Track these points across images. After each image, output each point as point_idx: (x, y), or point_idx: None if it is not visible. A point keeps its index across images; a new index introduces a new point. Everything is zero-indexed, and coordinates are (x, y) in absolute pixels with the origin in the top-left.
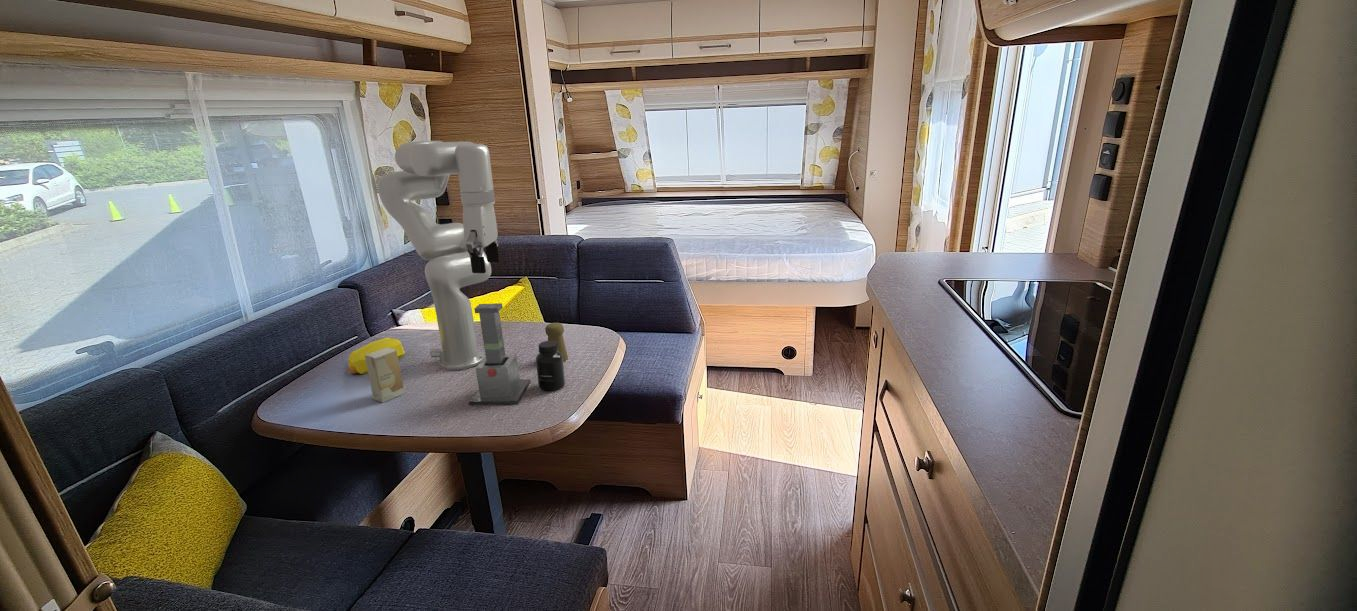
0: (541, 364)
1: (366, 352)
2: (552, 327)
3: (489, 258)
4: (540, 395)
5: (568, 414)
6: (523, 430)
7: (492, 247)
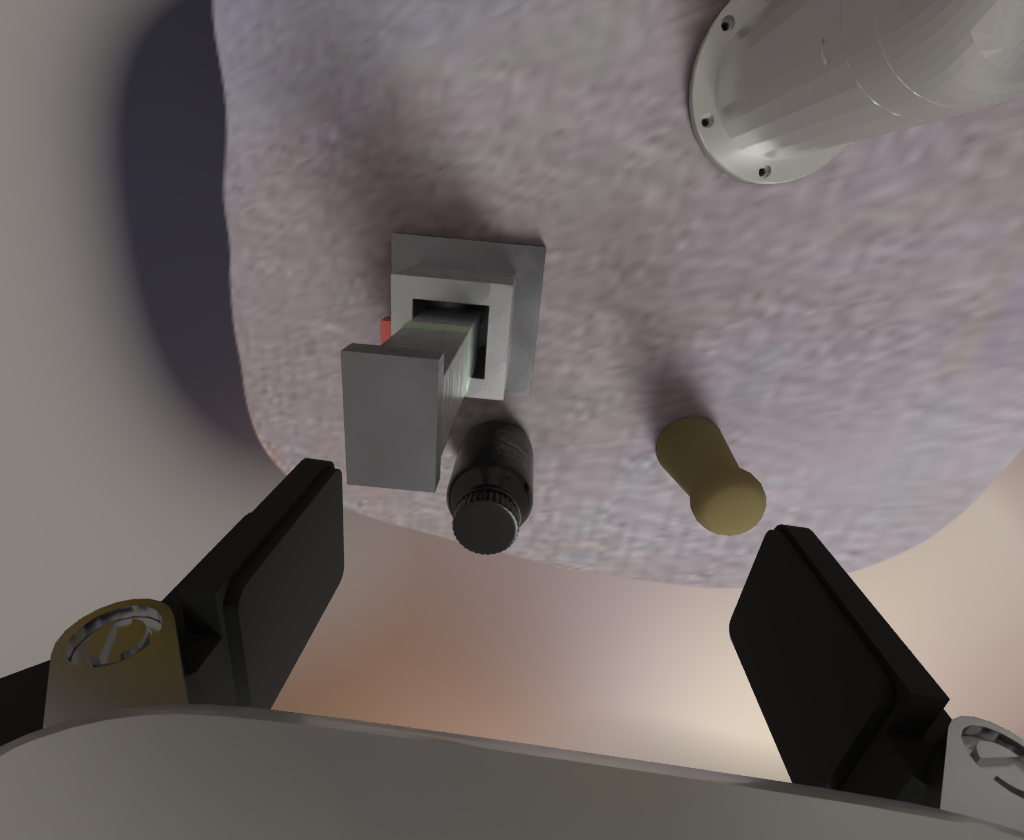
0: (451, 477)
1: None
2: (706, 508)
3: (779, 579)
4: None
5: None
6: (261, 415)
7: (853, 768)
